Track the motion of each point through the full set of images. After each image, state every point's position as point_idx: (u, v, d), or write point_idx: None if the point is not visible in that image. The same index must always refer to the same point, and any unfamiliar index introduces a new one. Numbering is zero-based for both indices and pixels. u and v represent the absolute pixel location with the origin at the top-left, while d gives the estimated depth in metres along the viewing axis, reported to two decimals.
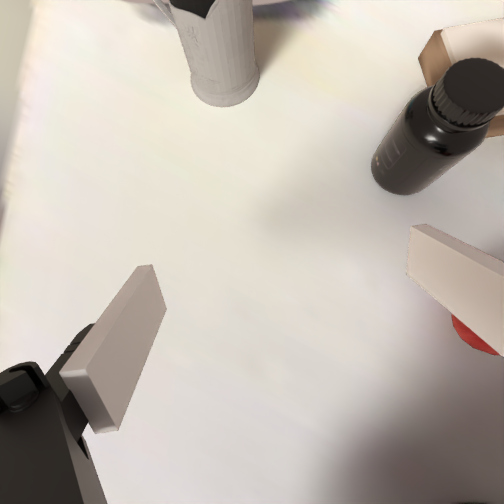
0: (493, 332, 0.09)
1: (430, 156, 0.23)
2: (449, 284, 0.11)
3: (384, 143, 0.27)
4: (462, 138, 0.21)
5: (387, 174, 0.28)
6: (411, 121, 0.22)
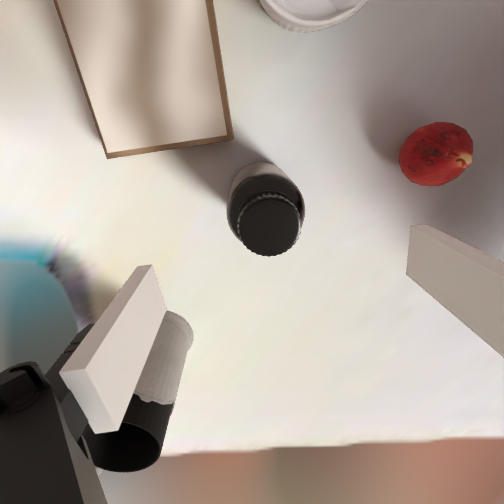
0: (493, 332, 0.09)
1: None
2: (449, 284, 0.11)
3: None
4: None
5: None
6: None
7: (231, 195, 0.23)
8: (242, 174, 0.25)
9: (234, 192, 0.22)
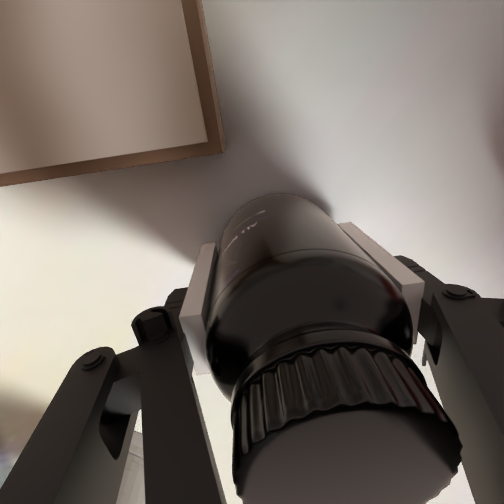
0: None
1: None
2: None
3: None
4: None
5: None
6: None
7: (216, 312, 0.08)
8: (244, 233, 0.11)
9: (224, 310, 0.08)
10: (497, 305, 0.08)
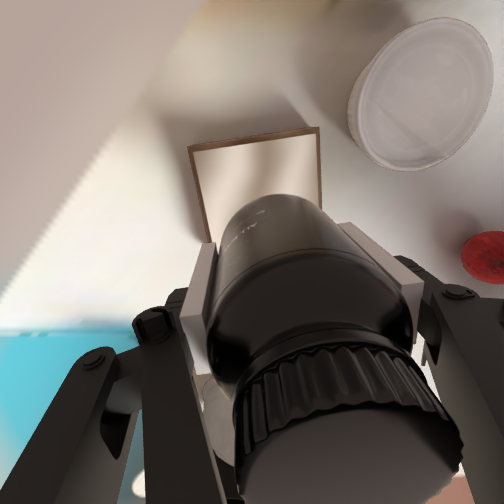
0: None
1: None
2: None
3: None
4: None
5: None
6: None
7: (216, 312, 0.08)
8: (245, 233, 0.11)
9: (225, 310, 0.08)
10: (496, 305, 0.08)
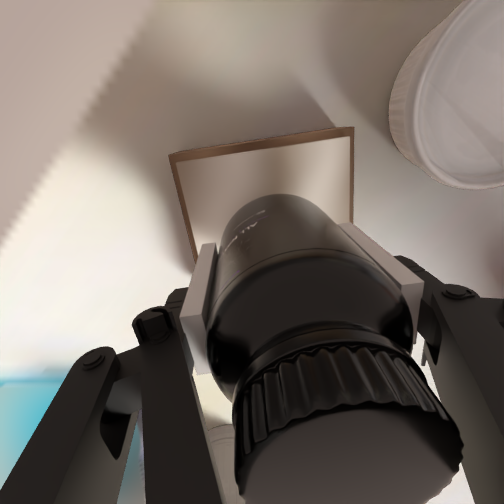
0: None
1: None
2: None
3: None
4: None
5: None
6: None
7: (216, 312, 0.08)
8: (244, 233, 0.11)
9: (225, 310, 0.08)
10: (496, 305, 0.08)
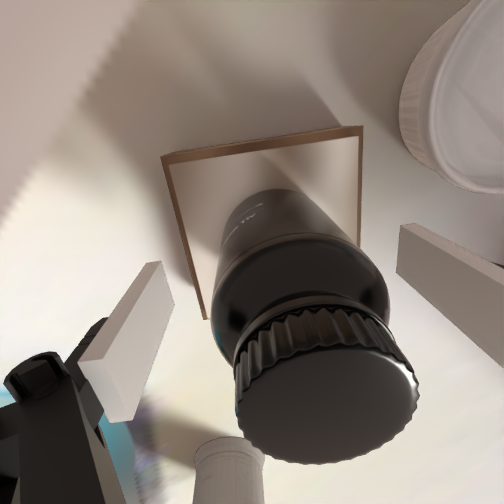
0: (475, 328, 0.10)
1: None
2: (436, 282, 0.11)
3: None
4: None
5: None
6: None
7: (220, 288, 0.09)
8: (244, 223, 0.12)
9: (227, 285, 0.09)
10: None
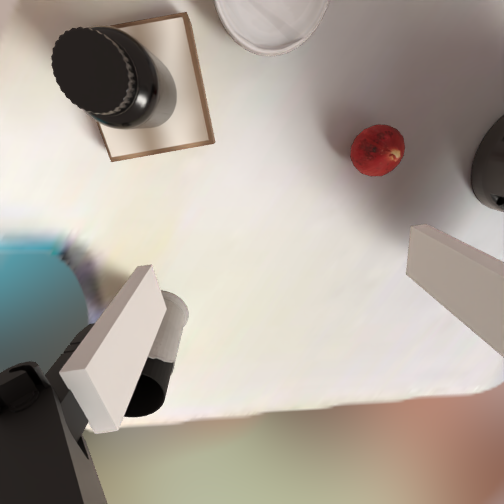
0: (493, 332, 0.09)
1: (158, 101, 0.22)
2: (449, 284, 0.11)
3: None
4: (141, 74, 0.20)
5: (162, 121, 0.27)
6: (125, 125, 0.22)
7: None
8: None
9: None
10: None
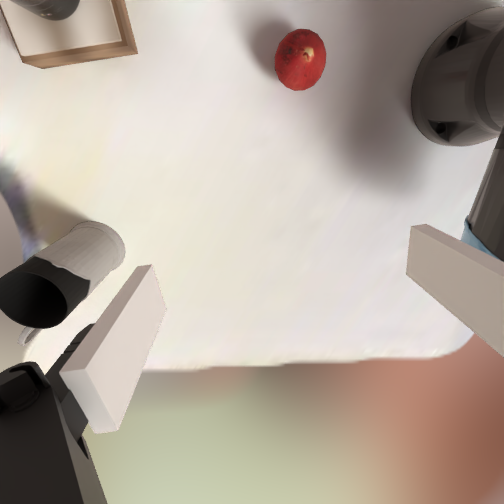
0: (493, 332, 0.09)
1: None
2: (449, 284, 0.11)
3: (23, 6, 0.25)
4: None
5: (59, 4, 0.26)
6: None
7: None
8: None
9: None
10: None
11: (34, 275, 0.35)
